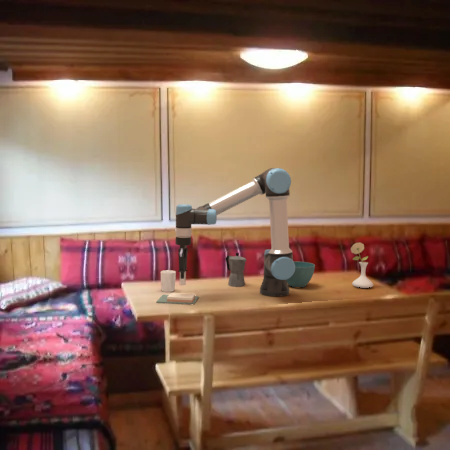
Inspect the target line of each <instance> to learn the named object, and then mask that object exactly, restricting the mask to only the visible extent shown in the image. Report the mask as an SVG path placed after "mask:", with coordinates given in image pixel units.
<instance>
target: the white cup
mask: <svg viewBox="0 0 450 450" xmlns="http://www.w3.org/2000/svg"><path fill="white" fill-rule="evenodd" d="M176 276H177V271H176V270H171V269H167V270H161V271H160V287H161V291H162V292H164V293H174V291H175V289H176V288H175V287H176Z"/></svg>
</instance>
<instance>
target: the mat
mask: <svg viewBox="0 0 450 450" xmlns="http://www.w3.org/2000/svg"><path fill="white" fill-rule="evenodd" d="M168 295H169V294H162V295H161V296H160V297H159V298H158V299H157V300H156V304H175V305H176V304H177V305H191V304H193V305H195V304H196V302H197V301H198V299H199V295H195V299H194V301H193V302H192V303H189V302H168V301H167V297H168Z"/></svg>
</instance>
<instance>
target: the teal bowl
mask: <svg viewBox="0 0 450 450" xmlns="http://www.w3.org/2000/svg"><path fill="white" fill-rule="evenodd" d="M294 263H295V272H294V274H293V275H292V276H291V277H290V278H288V279H286V280H287V283H288V287H291V286H292V287H291V288H295V287H303V288H305V287H306V286H307V285H309V283H310V281H311V280H312V278H313V275H314V272H315V266H316V265H315V264H314V263H312V262H308V261H307V262H306V261H294Z"/></svg>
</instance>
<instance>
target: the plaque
mask: <svg viewBox="0 0 450 450" xmlns="http://www.w3.org/2000/svg"><path fill="white" fill-rule="evenodd" d="M167 295H168V297H167V301H168V302H189V303H192V302H193V301H194V299H195V296H196V294H195V293H184V292H183V293H182V292H181V293H180V292H169V294H167Z"/></svg>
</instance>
